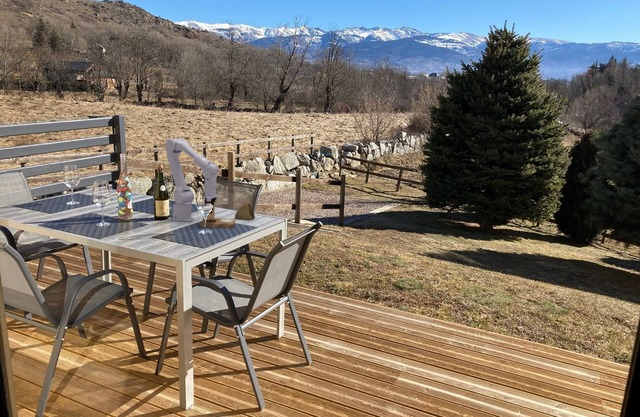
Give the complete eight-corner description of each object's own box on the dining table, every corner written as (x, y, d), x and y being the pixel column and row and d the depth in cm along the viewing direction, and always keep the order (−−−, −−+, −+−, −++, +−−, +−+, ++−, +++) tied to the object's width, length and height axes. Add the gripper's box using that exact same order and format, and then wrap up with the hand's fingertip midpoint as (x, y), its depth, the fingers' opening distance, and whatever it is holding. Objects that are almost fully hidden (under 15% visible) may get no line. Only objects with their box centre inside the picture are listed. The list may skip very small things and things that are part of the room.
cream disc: (219, 222, 248) (219, 221, 248) (220, 219, 255) (220, 218, 254) (232, 223, 248) (232, 222, 248) (233, 219, 255) (233, 218, 255)
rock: (229, 215, 264) (243, 215, 259) (234, 201, 267) (248, 202, 262) (240, 223, 272) (254, 224, 267) (245, 210, 275) (258, 211, 270)
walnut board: (200, 227, 245) (200, 223, 244) (203, 221, 256) (203, 218, 256) (233, 228, 247) (233, 224, 246) (235, 222, 258) (235, 218, 258)
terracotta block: (206, 218, 248) (206, 205, 246) (207, 216, 252) (207, 203, 250) (213, 218, 248) (214, 205, 247) (214, 216, 252) (214, 203, 251)
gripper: (216, 189, 240) (216, 215, 243) (219, 184, 254) (219, 209, 257) (202, 189, 239) (202, 215, 242) (206, 184, 253) (206, 208, 256)
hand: (210, 212), depth 250 cm, fingers closed on terracotta block, 4 cm apart
